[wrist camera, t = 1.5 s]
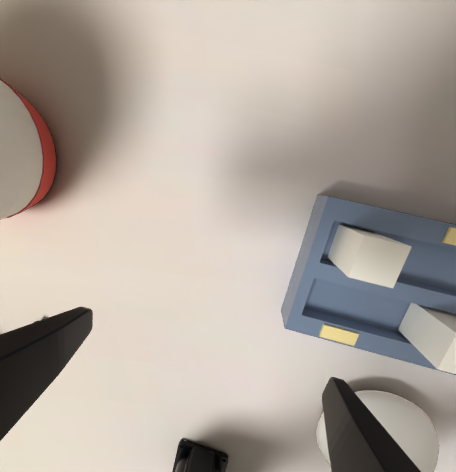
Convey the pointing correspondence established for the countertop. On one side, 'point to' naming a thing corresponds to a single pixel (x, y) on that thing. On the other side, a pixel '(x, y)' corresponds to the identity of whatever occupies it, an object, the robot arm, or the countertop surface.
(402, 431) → the flower in vase
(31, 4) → the countertop surface
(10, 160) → the citrus juicer
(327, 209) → the switch panel
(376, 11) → the countertop surface
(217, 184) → the countertop surface
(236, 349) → the countertop surface
